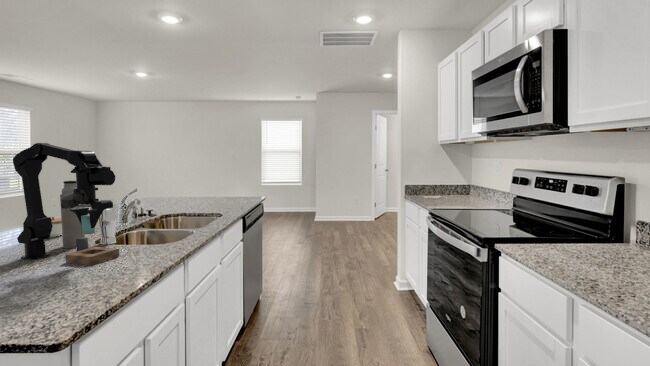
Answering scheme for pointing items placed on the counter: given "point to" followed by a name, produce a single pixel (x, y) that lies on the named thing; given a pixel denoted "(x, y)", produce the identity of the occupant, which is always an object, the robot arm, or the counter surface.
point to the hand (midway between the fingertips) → (88, 227)
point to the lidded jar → (56, 227)
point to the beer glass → (107, 226)
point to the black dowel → (82, 243)
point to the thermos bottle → (70, 219)
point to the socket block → (92, 255)
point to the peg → (86, 225)
